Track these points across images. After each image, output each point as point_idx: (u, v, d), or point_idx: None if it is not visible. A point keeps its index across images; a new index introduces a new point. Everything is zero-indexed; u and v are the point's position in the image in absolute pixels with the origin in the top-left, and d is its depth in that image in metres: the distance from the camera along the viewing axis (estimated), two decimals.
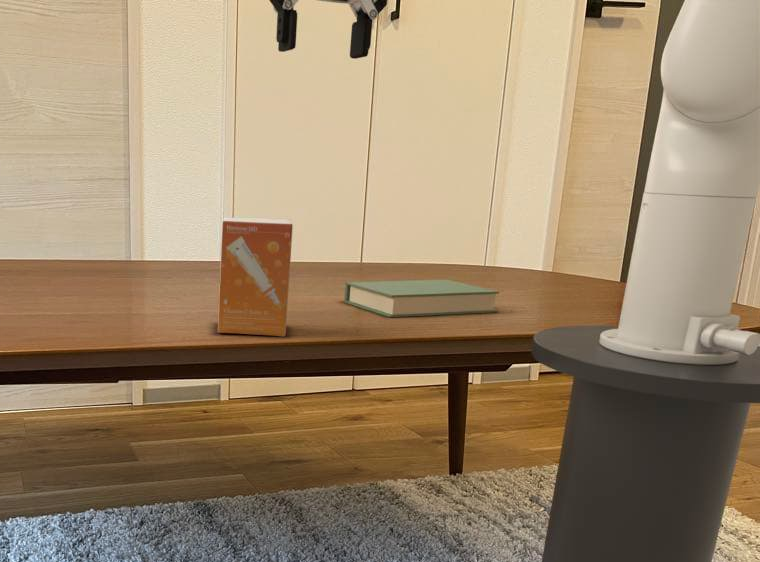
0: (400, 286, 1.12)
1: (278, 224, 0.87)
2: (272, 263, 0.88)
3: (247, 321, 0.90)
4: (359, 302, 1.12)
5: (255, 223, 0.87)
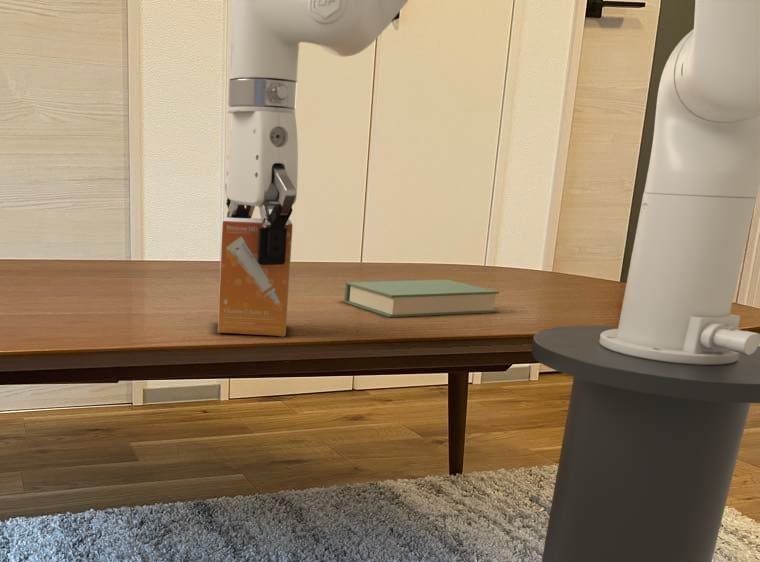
0: (400, 286, 1.12)
1: None
2: None
3: (247, 321, 0.90)
4: (359, 302, 1.12)
5: (255, 223, 0.87)
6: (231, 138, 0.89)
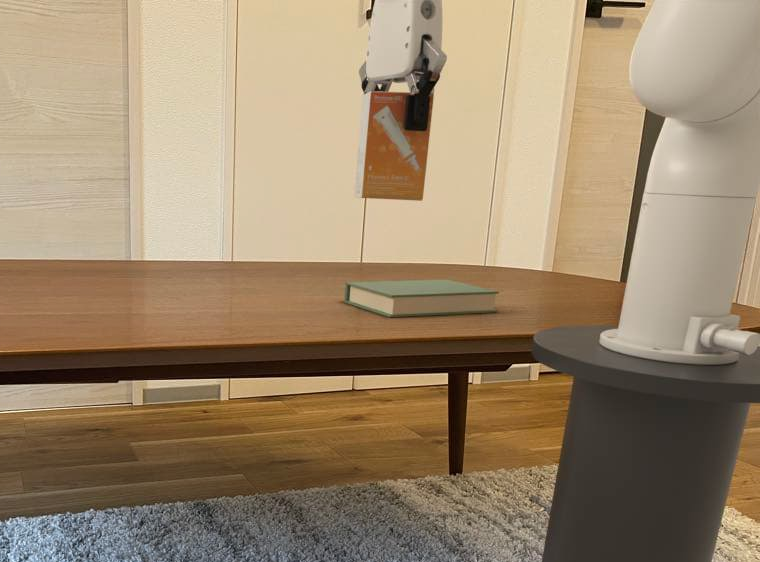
0: (400, 286, 1.12)
1: None
2: (414, 131, 0.97)
3: (388, 186, 0.99)
4: (359, 302, 1.12)
5: (400, 93, 0.96)
6: (375, 19, 0.98)
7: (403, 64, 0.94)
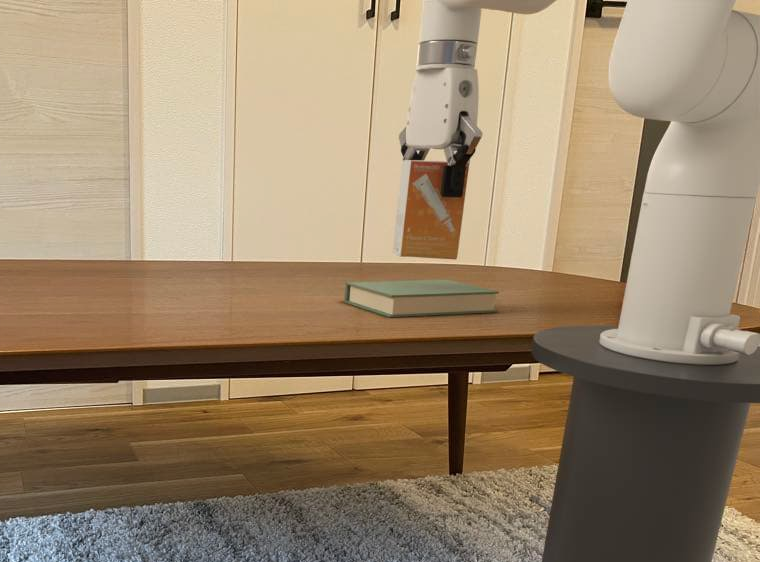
0: (400, 286, 1.12)
1: None
2: (450, 197, 1.05)
3: (425, 246, 1.08)
4: (359, 302, 1.12)
5: (438, 162, 1.04)
6: (415, 92, 1.06)
7: (441, 137, 1.02)
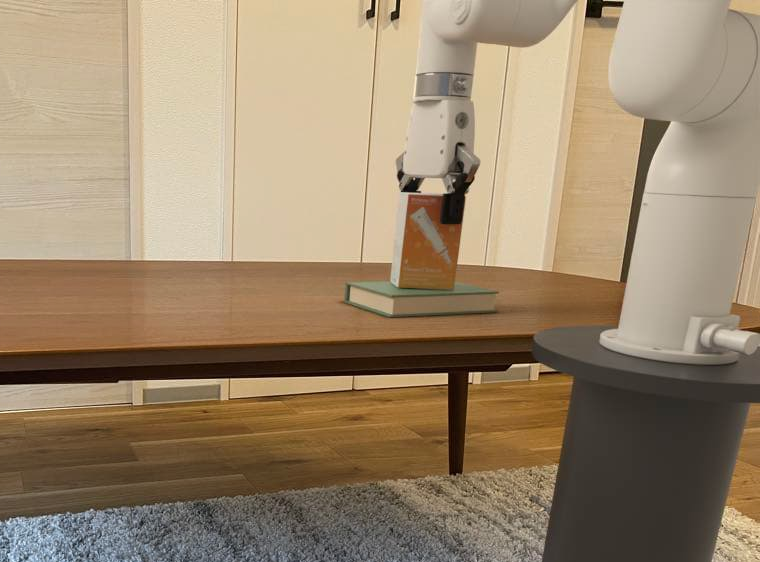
0: None
1: None
2: (447, 229, 1.07)
3: (423, 277, 1.09)
4: (359, 302, 1.12)
5: (435, 196, 1.05)
6: (412, 123, 1.07)
7: (438, 168, 1.03)
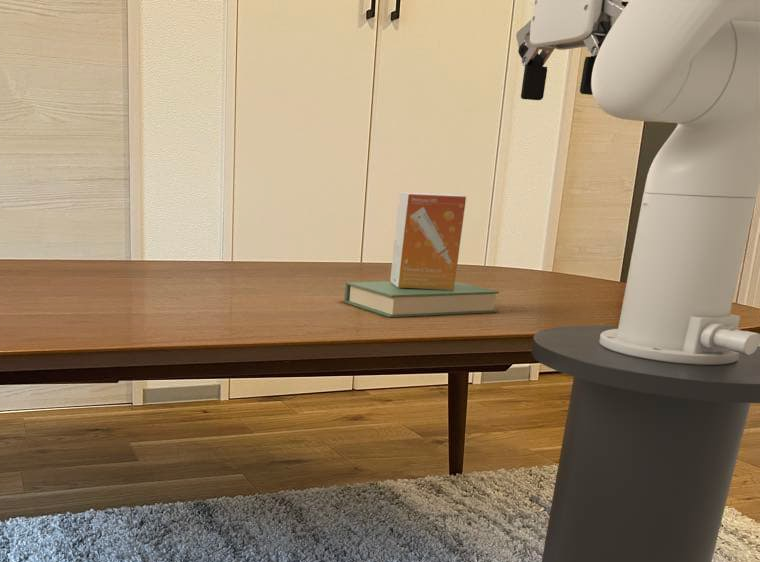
0: None
1: (454, 196, 1.05)
2: (447, 229, 1.07)
3: (423, 277, 1.09)
4: (359, 302, 1.12)
5: (435, 196, 1.05)
6: None
7: (580, 27, 0.90)
